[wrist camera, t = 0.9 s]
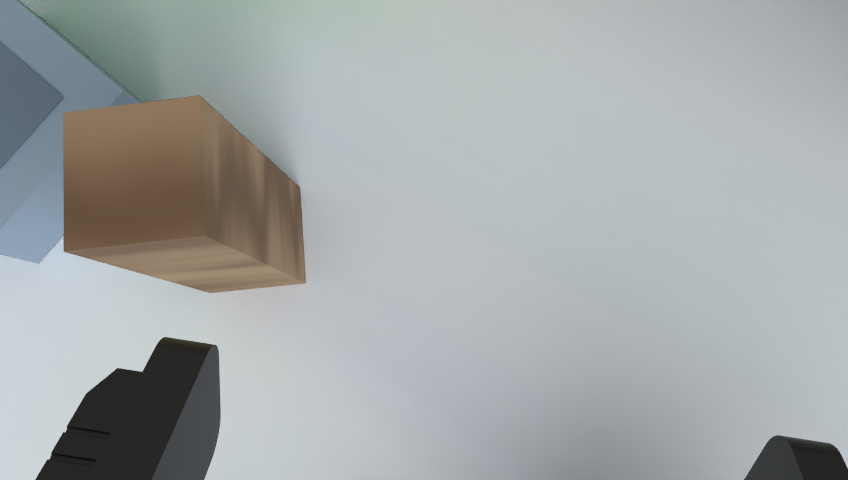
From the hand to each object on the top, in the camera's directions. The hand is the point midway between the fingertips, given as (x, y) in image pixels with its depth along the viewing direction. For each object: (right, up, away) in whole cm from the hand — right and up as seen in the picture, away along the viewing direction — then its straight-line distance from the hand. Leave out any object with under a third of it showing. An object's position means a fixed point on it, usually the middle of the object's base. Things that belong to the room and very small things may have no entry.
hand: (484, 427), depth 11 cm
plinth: (-20, +8, +26) cm, 34 cm away
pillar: (-9, +3, +24) cm, 26 cm away
